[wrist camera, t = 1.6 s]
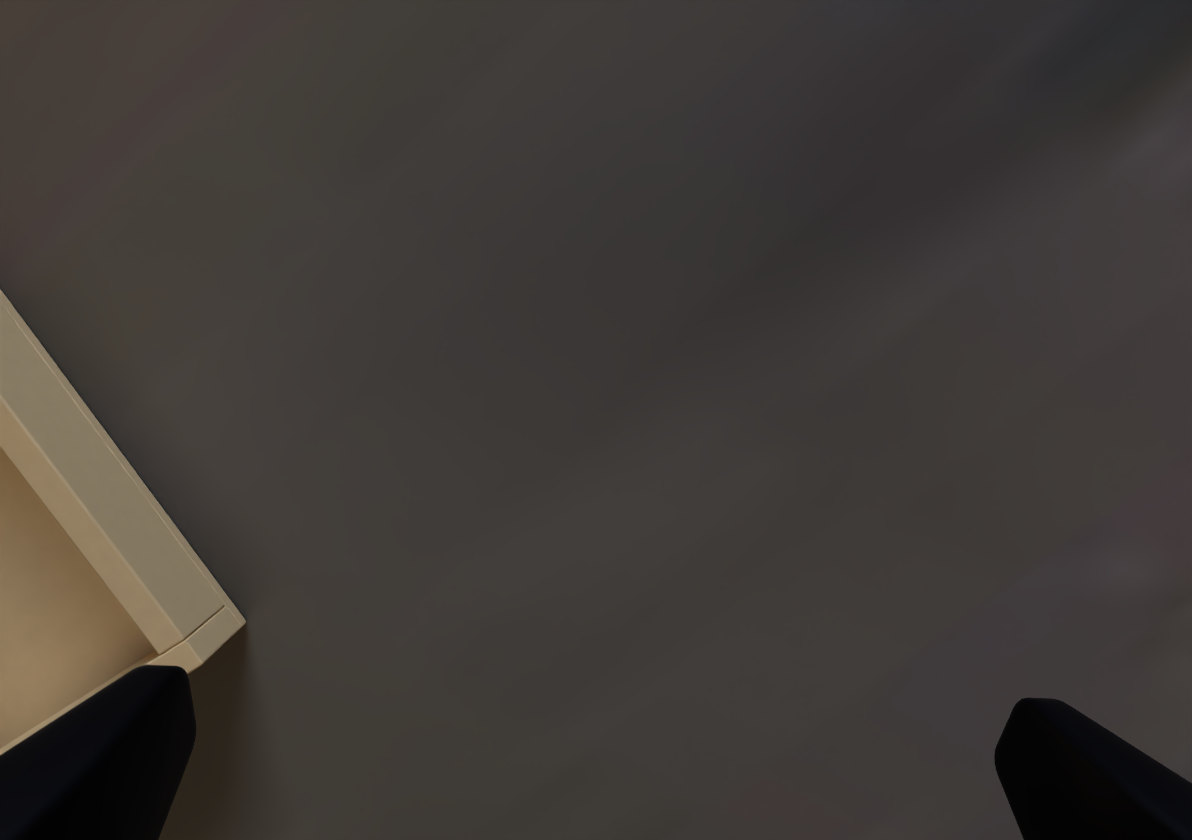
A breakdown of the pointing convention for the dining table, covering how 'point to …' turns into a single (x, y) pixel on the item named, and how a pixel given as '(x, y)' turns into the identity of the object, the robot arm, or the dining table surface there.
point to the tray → (83, 553)
